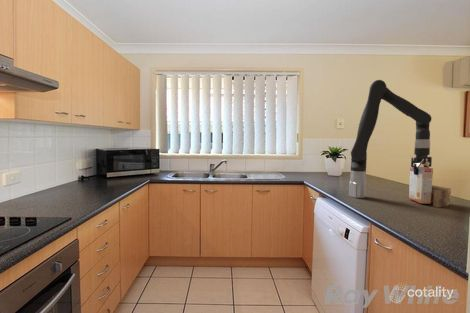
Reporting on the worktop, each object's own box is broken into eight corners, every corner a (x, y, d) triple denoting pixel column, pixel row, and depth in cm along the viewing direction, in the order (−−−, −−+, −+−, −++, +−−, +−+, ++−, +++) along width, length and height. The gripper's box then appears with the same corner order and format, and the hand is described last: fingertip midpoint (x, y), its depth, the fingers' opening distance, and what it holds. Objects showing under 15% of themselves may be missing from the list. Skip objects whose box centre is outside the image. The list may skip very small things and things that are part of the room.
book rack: (437, 207, 153) (438, 189, 153) (403, 199, 173) (404, 183, 172) (449, 205, 157) (450, 188, 156) (414, 197, 176) (415, 182, 176)
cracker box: (431, 204, 157) (433, 168, 156) (420, 204, 158) (422, 168, 156) (418, 198, 171) (420, 165, 170) (408, 198, 172) (409, 165, 170)
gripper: (424, 146, 168) (423, 173, 169) (407, 147, 163) (406, 174, 165) (436, 147, 161) (435, 174, 162) (419, 147, 156) (418, 175, 157)
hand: (420, 174), depth 163 cm, fingers closed on cracker box, 8 cm apart
